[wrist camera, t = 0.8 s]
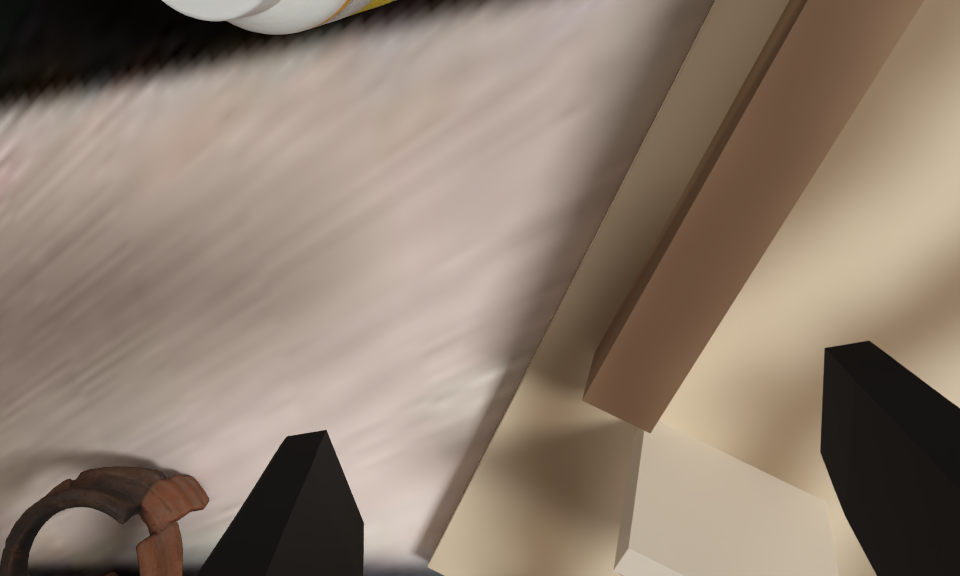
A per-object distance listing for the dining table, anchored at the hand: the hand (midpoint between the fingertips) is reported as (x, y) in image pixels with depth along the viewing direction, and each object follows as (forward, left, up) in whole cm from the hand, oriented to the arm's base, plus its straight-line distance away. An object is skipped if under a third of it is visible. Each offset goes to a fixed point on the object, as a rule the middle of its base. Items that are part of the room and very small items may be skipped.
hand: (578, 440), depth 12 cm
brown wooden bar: (-3, -2, -16) cm, 16 cm away
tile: (-8, +9, -12) cm, 18 cm away
